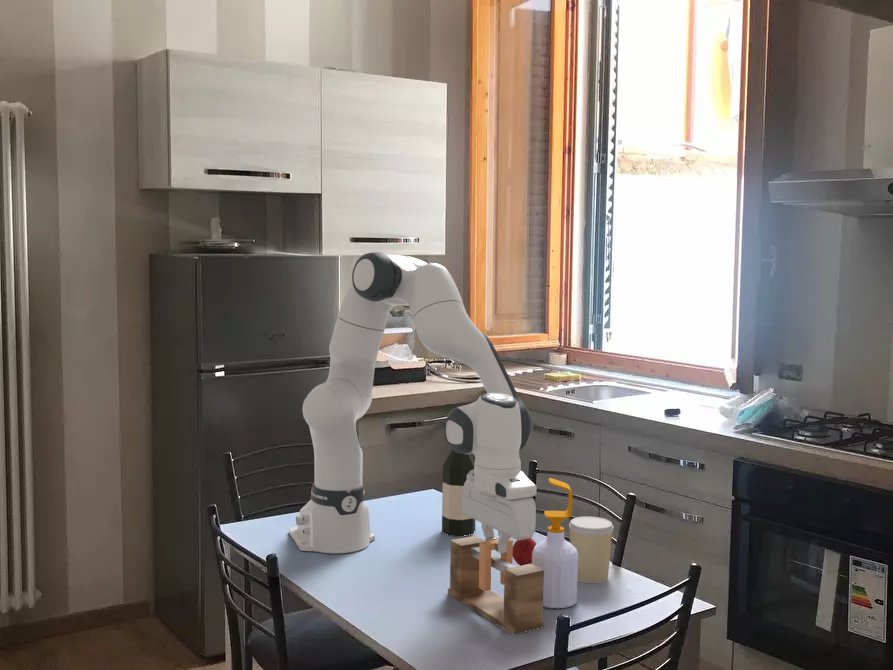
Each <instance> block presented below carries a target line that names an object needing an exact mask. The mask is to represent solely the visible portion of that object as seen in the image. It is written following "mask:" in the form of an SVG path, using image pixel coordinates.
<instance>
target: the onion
mask: <svg viewBox="0 0 893 670" xmlns="http://www.w3.org/2000/svg"><path fill="white" fill-rule="evenodd" d="M537 544H538V543H537V542H536V541H535V540H534V539H533V538H532V537H531V538H528V539H523V540H517V539H516V541H515V542H513V560H514V562H515V563H516V564H517V565H518V566H522V565H527V564H532V552H533V549H534V547H535V546H536V545H537Z"/></svg>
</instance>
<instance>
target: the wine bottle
mask: <svg viewBox="0 0 893 670" xmlns="http://www.w3.org/2000/svg"><path fill="white" fill-rule="evenodd" d="M451 449H452V448H451ZM474 467H475V459H474V457H473V455H472V454H462V453H457V452H455V451H454V450H453V449H452V450H451V452H450V453H449V454H448V456H447V458H446V459H445V461H444V463H443V464H442V494H441V495H442V496H441V497H442V498H441V499H442V500H441V502H442V503H441V505H442V506H441V533H442V532H444V533H446V534H448V535H454V536H453V537H457V536H464V535H469V534H470V536H472V535H471V534H473V533H474V534H475V532H476V521H477V520H475V519H472V518H470V517H468V516H466V515H464V514H463V511H462V495H463V487H464V483H465V482H466V481H467V474H468V473H469V472H470V471H471V470H474ZM474 531H475V532H474ZM444 533H443V534H444ZM446 534H445V535H446ZM474 534H473V535H474ZM448 535H447V536H448ZM464 537H465V536H464Z"/></svg>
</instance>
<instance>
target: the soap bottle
mask: <svg viewBox="0 0 893 670" xmlns="http://www.w3.org/2000/svg"><path fill="white" fill-rule="evenodd" d="M547 481H548V483H549V484H550V485H551V486H554V487H557V488H559V489H562V490H565V491H567V492H568V494H567V495H568V498H567V499H568V500H567V508H566V510H545V511H544V512H543V515H544V517H545V519H548V520H549V521H550V522H551V525H549V526H547V529H546V531H547V533H546V534H547V536H546V538H545V539H543V540H541V541H540V542H538V543H536V544H537V545H536V546H535V547H534V549H533V552H532V564H533V565H535V566H537V567H539V568H541V569H543V570H544V585H543V608H547V609H552V608H556V609H557V610H560V608H561V609H566V608H569V607H572V606H575V604H577V600H578V598H577V597H578V581H577V576H578V552H577V549H576V548H575V547H574V546H573V545H572V544H571V543H570V541H567V540H566V539H565V527H563V526H561V523H562V522H564V520H567V519H569V518H571V517H572V514H573V492H572V489H571V486H570V485H569V484H568V483H566V482H564V481H561V480H558V479H556V478H553V477H549V478H548V479H547Z"/></svg>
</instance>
